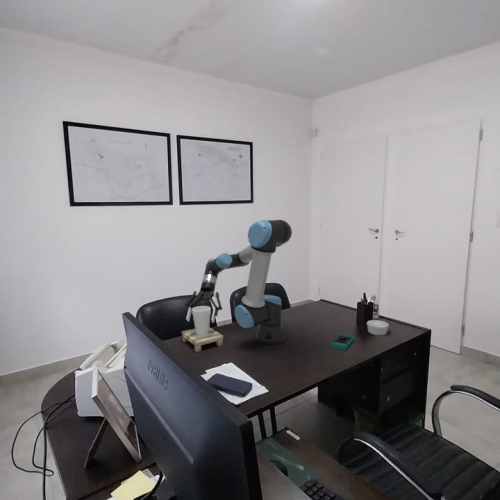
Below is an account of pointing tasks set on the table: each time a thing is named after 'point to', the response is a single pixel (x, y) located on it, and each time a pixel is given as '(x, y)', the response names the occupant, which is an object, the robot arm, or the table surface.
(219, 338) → the stand
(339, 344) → the digital multimeter
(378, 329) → the ramekin
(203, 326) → the foam cup
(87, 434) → the table surface
